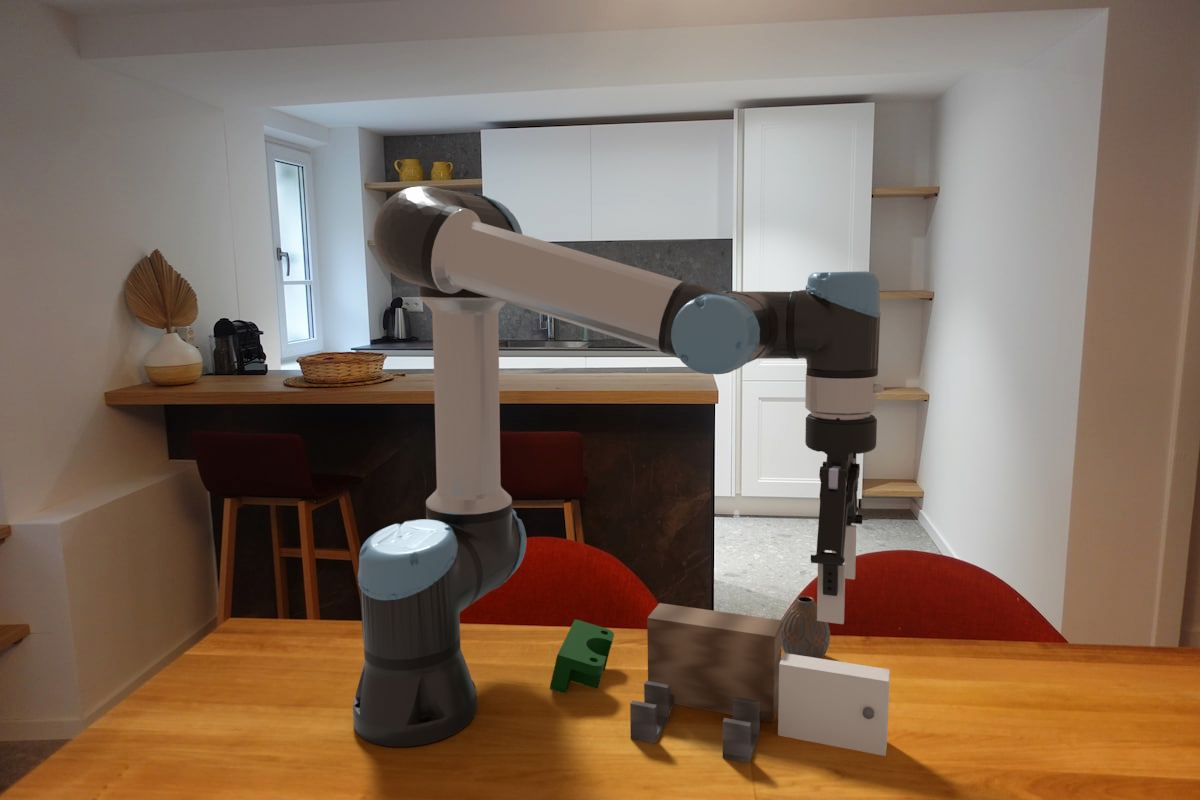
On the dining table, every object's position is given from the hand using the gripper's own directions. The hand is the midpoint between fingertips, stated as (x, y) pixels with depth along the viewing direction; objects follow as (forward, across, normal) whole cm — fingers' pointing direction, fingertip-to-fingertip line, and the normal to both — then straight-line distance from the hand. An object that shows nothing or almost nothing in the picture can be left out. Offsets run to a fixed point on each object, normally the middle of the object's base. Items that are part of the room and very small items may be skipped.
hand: (837, 598), depth 92 cm
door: (+17, 0, 0) cm, 17 cm away
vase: (+17, +19, +6) cm, 27 cm away
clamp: (+17, +4, +33) cm, 38 cm away
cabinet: (+17, -1, +15) cm, 23 cm away
